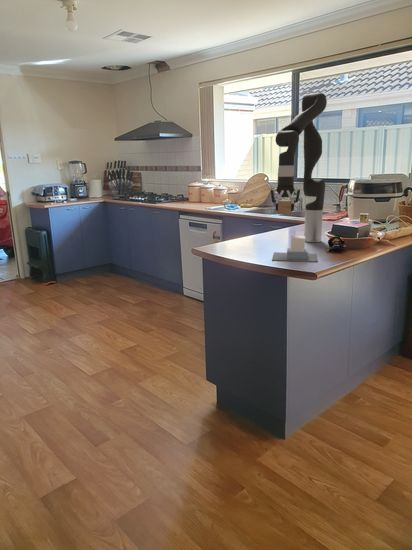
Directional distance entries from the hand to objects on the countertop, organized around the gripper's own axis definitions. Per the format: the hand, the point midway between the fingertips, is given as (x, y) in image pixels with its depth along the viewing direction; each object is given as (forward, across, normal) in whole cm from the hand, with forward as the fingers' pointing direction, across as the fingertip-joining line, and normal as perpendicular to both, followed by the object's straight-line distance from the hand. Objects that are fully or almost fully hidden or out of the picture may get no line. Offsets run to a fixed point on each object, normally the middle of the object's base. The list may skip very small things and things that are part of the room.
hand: (284, 211), depth 206 cm
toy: (+20, -25, -6) cm, 33 cm away
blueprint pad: (+20, -7, +13) cm, 25 cm away
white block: (+16, -7, +13) cm, 22 cm away
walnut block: (+1, 0, 0) cm, 1 cm away
